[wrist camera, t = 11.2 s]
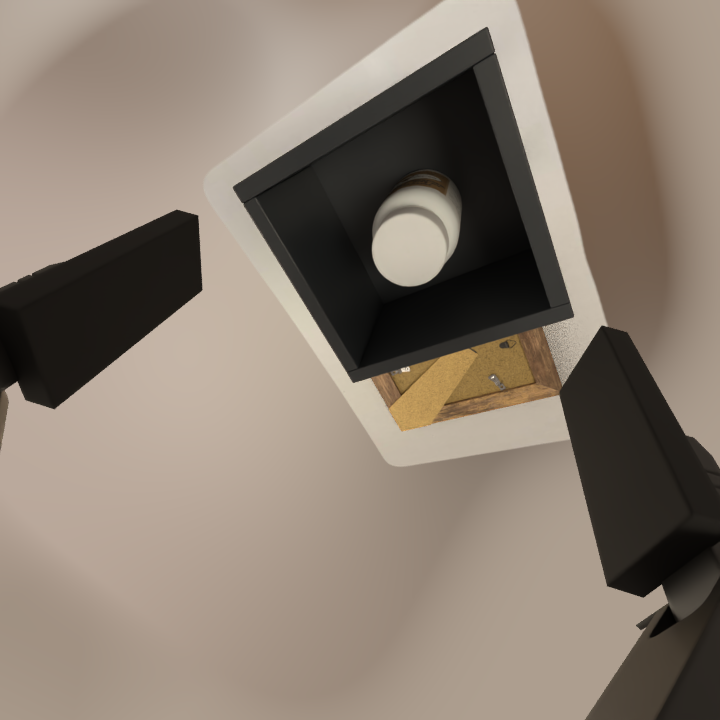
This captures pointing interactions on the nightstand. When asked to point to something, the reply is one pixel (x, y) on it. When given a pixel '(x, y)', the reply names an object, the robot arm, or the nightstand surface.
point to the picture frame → (471, 381)
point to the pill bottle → (417, 228)
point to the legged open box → (372, 186)
